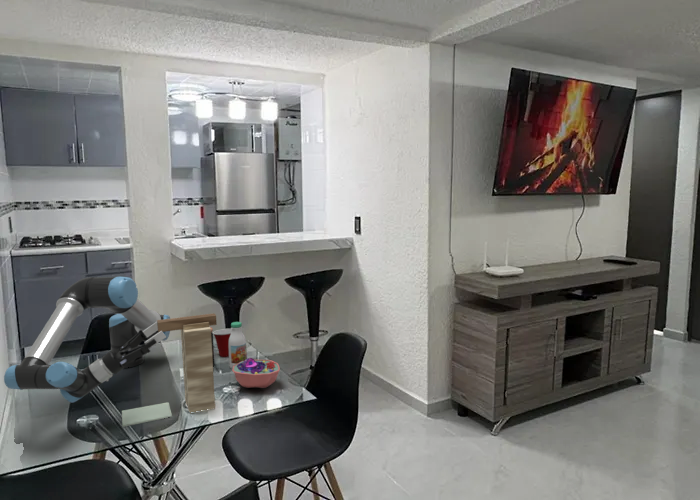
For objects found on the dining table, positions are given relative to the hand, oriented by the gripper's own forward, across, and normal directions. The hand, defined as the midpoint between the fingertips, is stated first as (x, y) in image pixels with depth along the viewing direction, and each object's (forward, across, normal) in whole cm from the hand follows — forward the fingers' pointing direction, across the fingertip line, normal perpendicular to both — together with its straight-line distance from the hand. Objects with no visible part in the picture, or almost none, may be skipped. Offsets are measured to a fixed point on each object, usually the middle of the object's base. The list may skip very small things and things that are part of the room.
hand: (162, 328), depth 182 cm
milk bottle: (+12, -33, -43) cm, 56 cm away
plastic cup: (+10, -51, -42) cm, 67 cm away
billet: (+7, -1, -5) cm, 9 cm away
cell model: (+14, -8, -44) cm, 47 cm away
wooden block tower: (-6, -1, -32) cm, 33 cm away
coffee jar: (-1, -37, -36) cm, 51 cm away
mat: (-22, 0, -23) cm, 32 cm away
